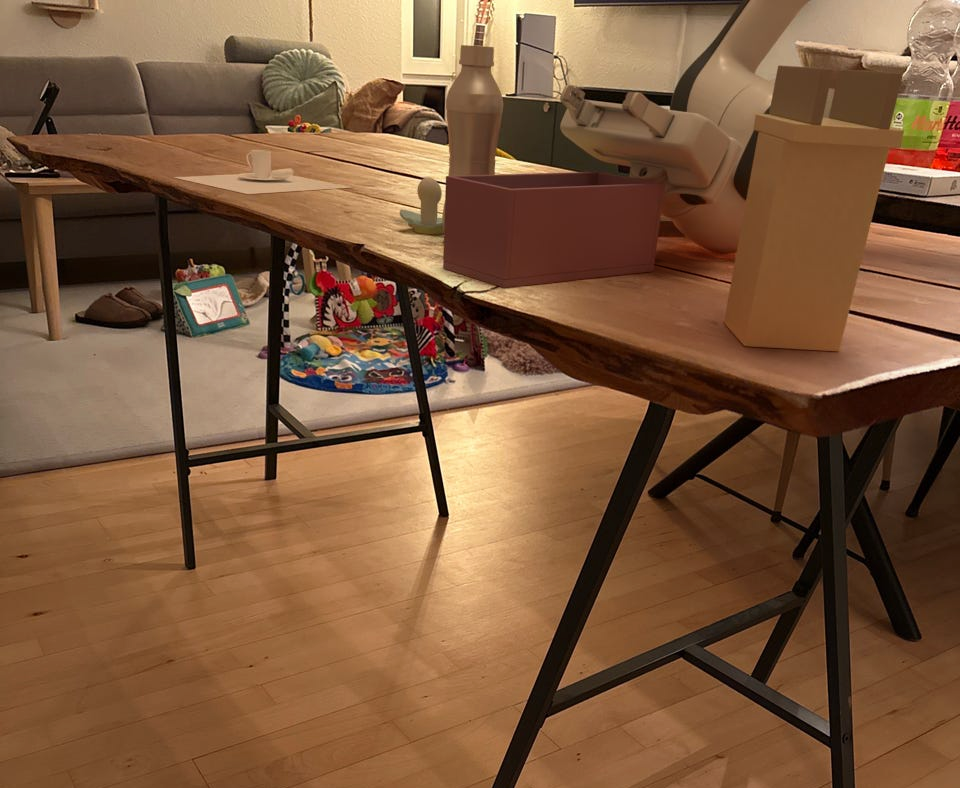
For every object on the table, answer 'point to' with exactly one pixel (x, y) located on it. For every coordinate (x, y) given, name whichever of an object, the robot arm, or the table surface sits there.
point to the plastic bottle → (473, 115)
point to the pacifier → (426, 209)
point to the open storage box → (550, 226)
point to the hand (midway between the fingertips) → (597, 95)
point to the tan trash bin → (810, 206)
